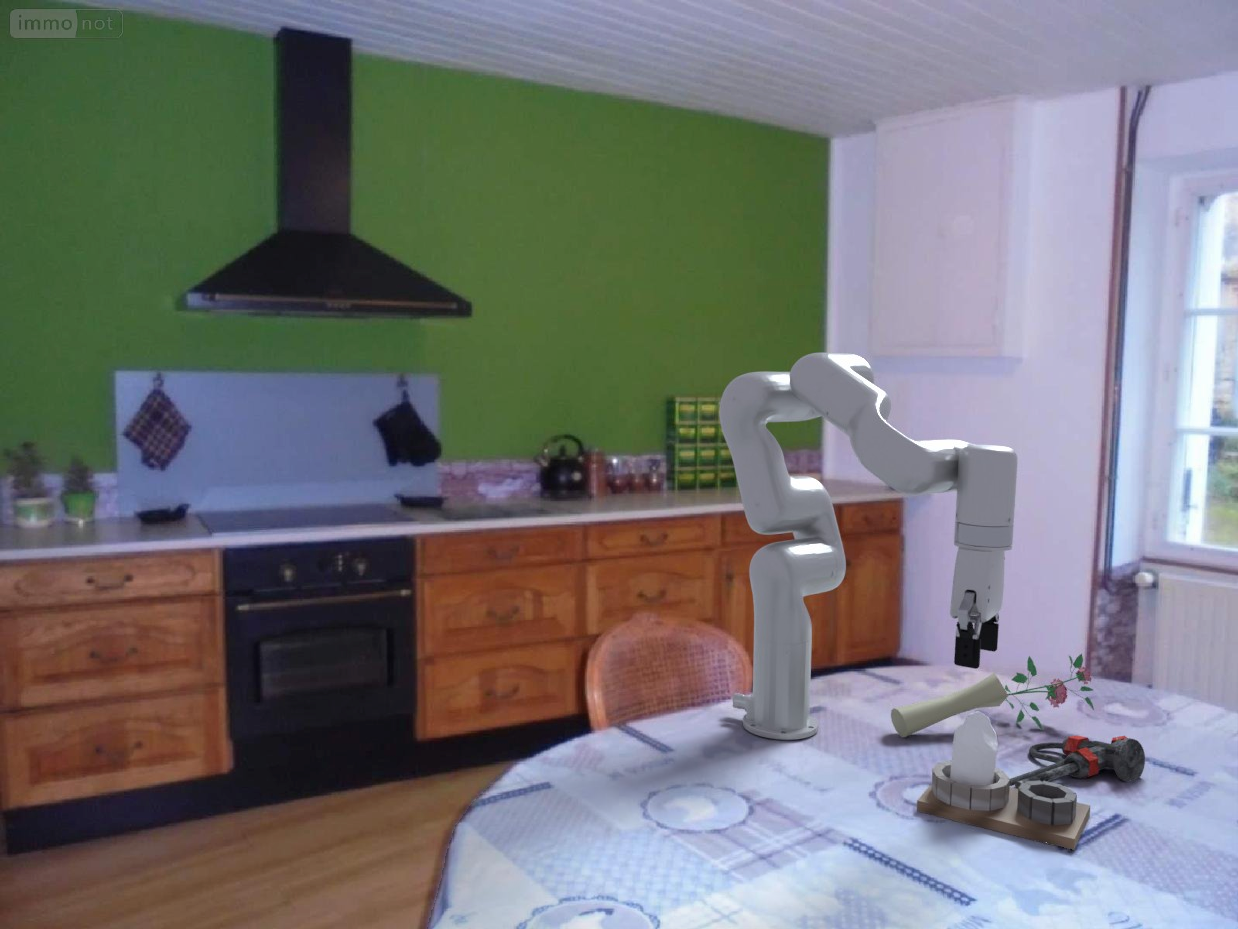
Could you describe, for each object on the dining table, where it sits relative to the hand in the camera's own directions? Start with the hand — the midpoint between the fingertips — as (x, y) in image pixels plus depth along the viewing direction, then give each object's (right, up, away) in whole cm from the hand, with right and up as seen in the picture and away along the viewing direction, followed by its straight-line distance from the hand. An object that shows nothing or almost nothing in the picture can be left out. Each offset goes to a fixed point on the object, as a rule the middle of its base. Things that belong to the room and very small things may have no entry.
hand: (976, 657), depth 141 cm
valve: (+18, -20, +14) cm, 30 cm away
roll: (0, -19, +1) cm, 19 cm away
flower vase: (+13, -18, +31) cm, 39 cm away
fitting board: (+3, -21, -1) cm, 21 cm away
